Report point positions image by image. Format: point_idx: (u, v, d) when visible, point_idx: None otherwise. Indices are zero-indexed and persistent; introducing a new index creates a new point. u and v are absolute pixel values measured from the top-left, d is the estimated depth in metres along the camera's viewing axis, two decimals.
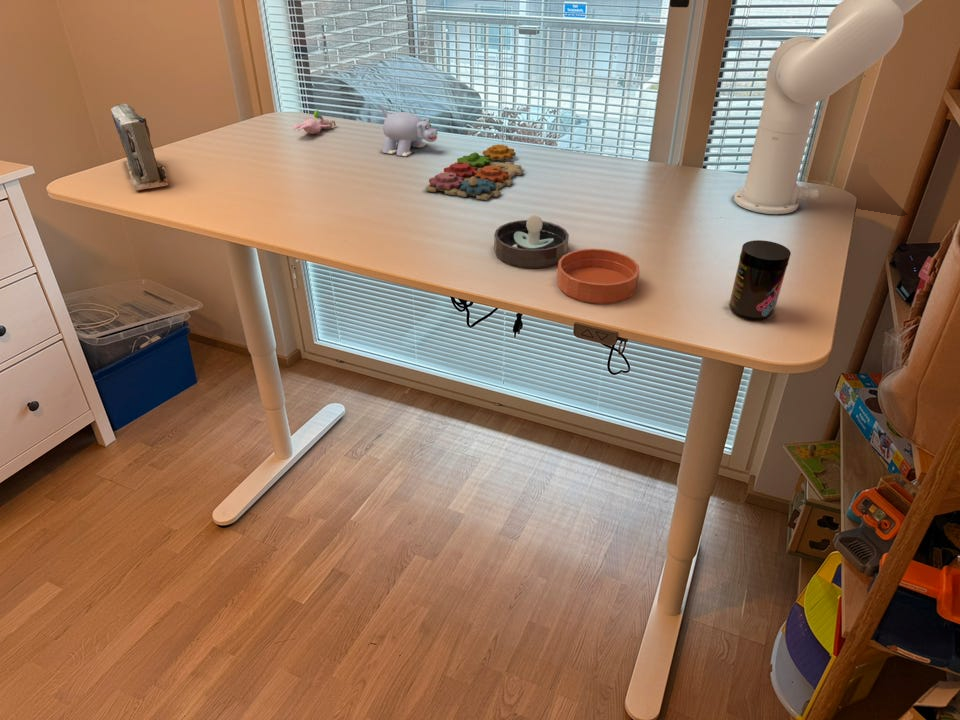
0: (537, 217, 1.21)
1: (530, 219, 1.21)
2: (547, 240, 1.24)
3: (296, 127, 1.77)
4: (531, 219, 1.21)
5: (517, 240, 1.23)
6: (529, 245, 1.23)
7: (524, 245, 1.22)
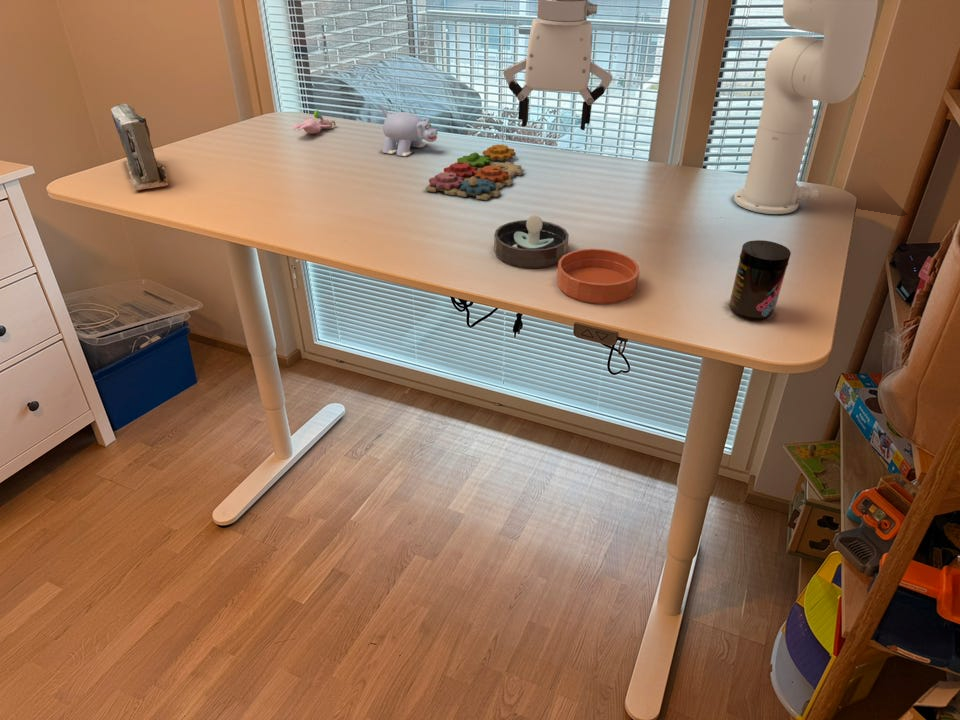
0: (537, 217, 1.21)
1: (530, 219, 1.21)
2: (547, 240, 1.24)
3: (296, 127, 1.77)
4: (531, 219, 1.21)
5: (517, 240, 1.23)
6: (529, 245, 1.23)
7: (524, 245, 1.22)
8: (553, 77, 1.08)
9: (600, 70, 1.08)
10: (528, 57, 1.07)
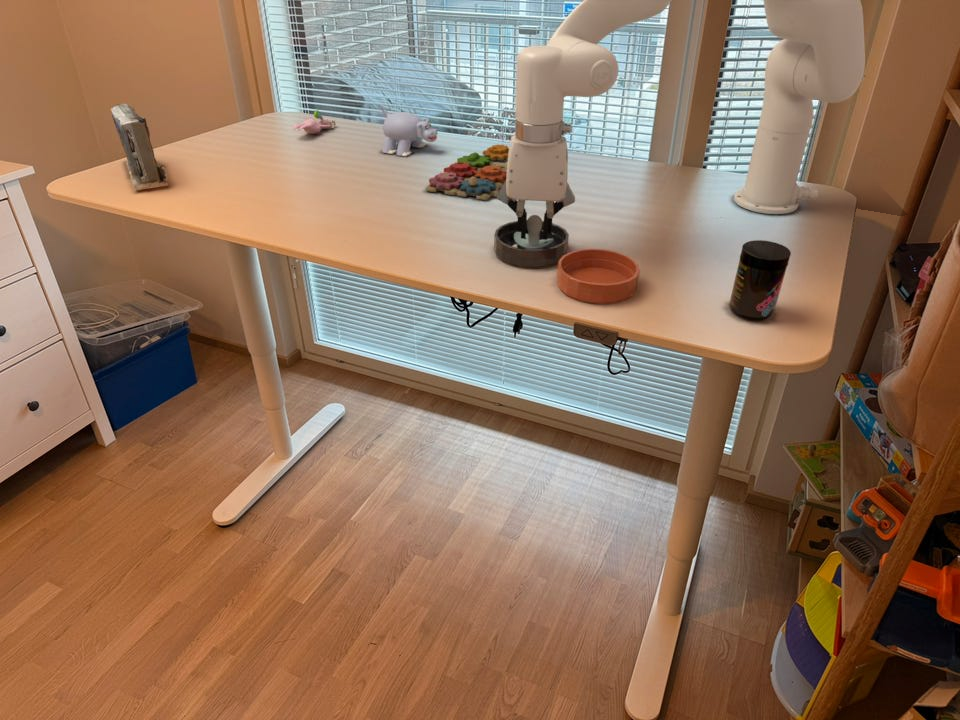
0: (537, 217, 1.21)
1: (530, 219, 1.21)
2: (547, 240, 1.24)
3: (296, 127, 1.77)
4: (531, 219, 1.21)
5: (517, 240, 1.23)
6: (529, 245, 1.23)
7: (524, 245, 1.22)
8: (532, 189, 1.15)
9: (568, 190, 1.16)
10: (508, 172, 1.14)
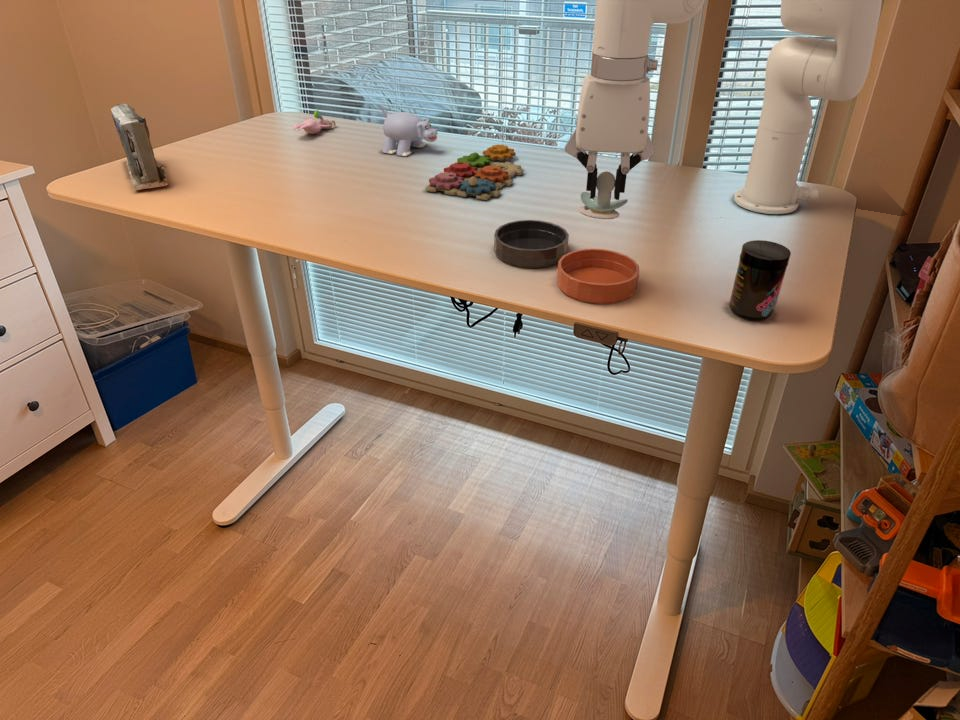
0: (609, 174, 1.04)
1: (601, 176, 1.05)
2: (619, 201, 1.07)
3: (296, 127, 1.77)
4: (602, 176, 1.05)
5: (585, 201, 1.07)
6: (599, 207, 1.07)
7: (593, 207, 1.06)
8: (607, 138, 0.98)
9: (649, 140, 0.99)
10: (580, 117, 0.98)
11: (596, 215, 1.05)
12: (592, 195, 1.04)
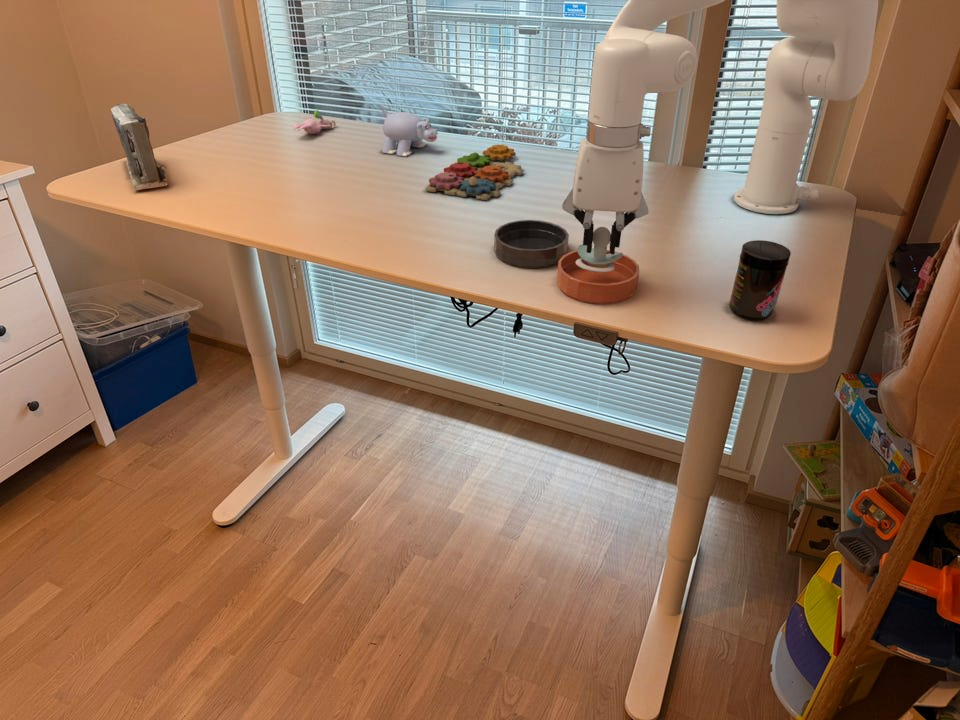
0: (605, 229, 1.09)
1: (597, 231, 1.10)
2: (614, 254, 1.12)
3: (296, 127, 1.77)
4: (598, 231, 1.10)
5: (581, 254, 1.12)
6: (595, 260, 1.11)
7: (589, 260, 1.11)
8: (603, 199, 1.03)
9: (642, 200, 1.04)
10: (577, 179, 1.02)
11: (592, 269, 1.09)
12: (588, 250, 1.09)
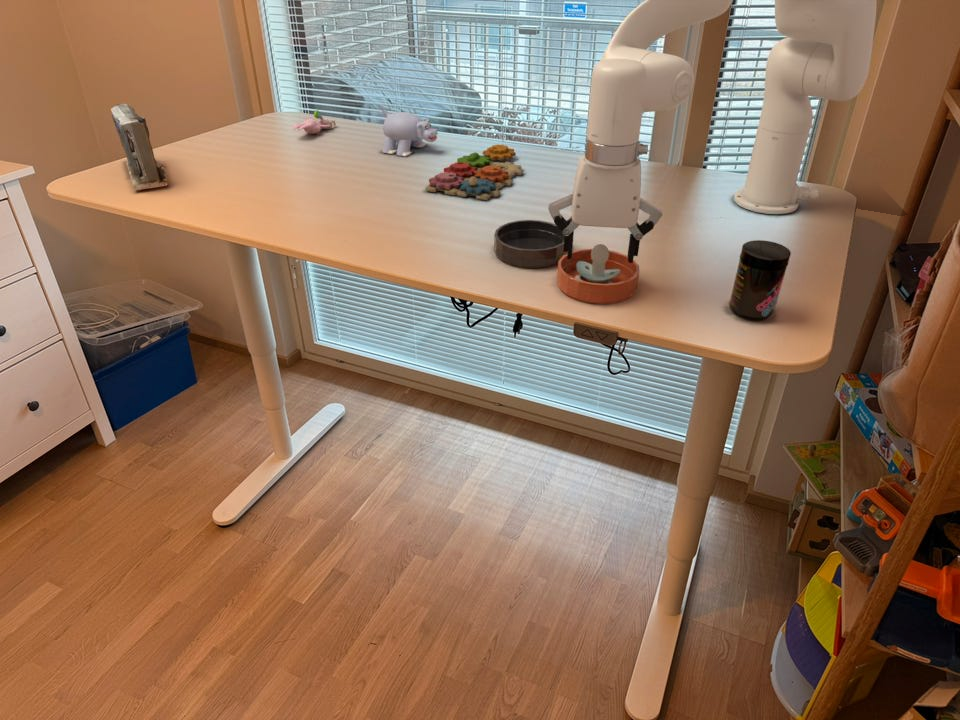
0: (603, 247, 1.11)
1: (595, 249, 1.12)
2: (613, 271, 1.14)
3: (296, 127, 1.77)
4: (596, 249, 1.11)
5: (580, 271, 1.13)
6: (593, 276, 1.13)
7: (588, 277, 1.13)
8: (601, 215, 1.04)
9: (650, 207, 1.04)
10: (575, 196, 1.04)
11: None
12: (569, 256, 1.10)
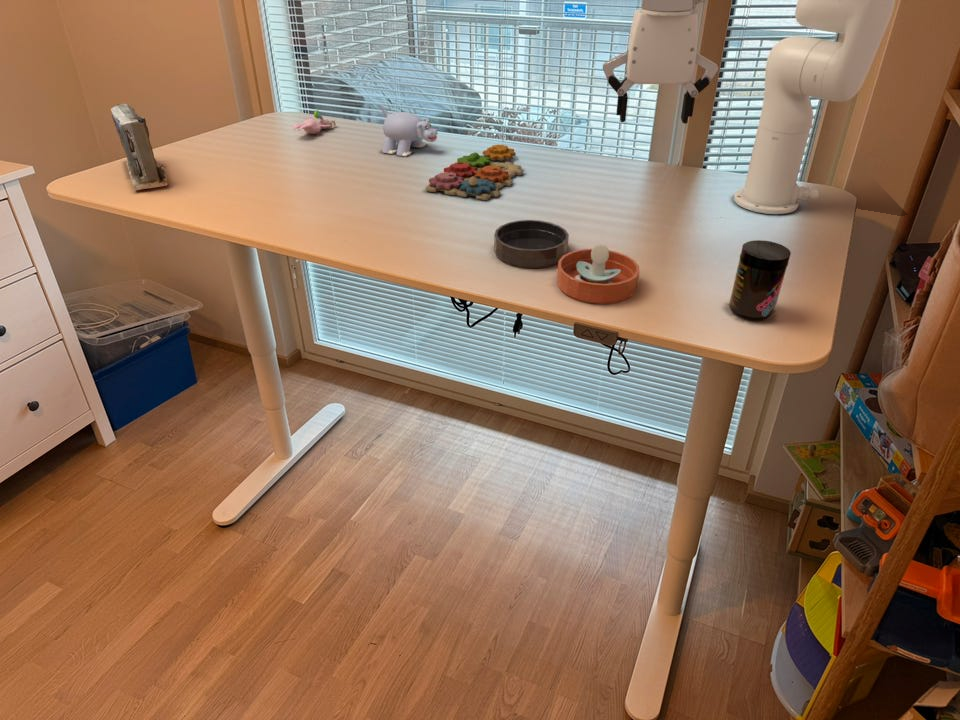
0: (603, 247, 1.11)
1: (595, 249, 1.12)
2: (613, 271, 1.14)
3: (296, 127, 1.77)
4: (596, 249, 1.11)
5: (580, 271, 1.13)
6: (593, 276, 1.13)
7: (588, 277, 1.13)
8: (657, 70, 1.04)
9: (706, 61, 1.04)
10: (631, 50, 1.03)
11: None
12: (622, 118, 1.09)
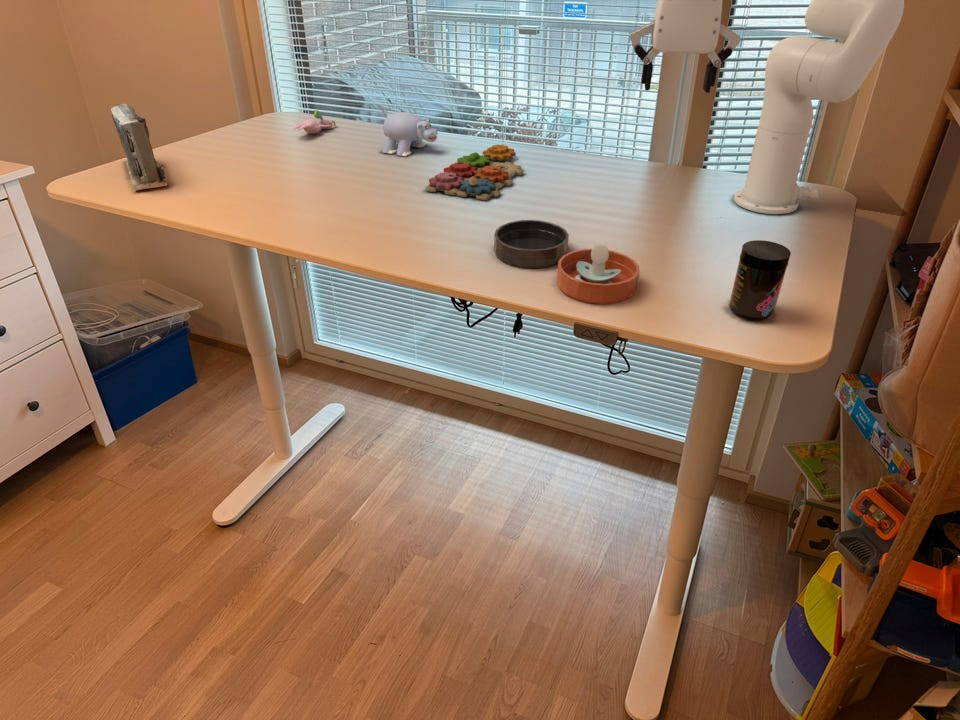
0: (603, 247, 1.11)
1: (595, 249, 1.12)
2: (613, 271, 1.14)
3: (296, 127, 1.77)
4: (596, 249, 1.11)
5: (580, 271, 1.13)
6: (593, 276, 1.13)
7: (588, 277, 1.13)
8: (682, 39, 1.09)
9: (729, 31, 1.09)
10: (658, 19, 1.08)
11: None
12: (647, 87, 1.14)
